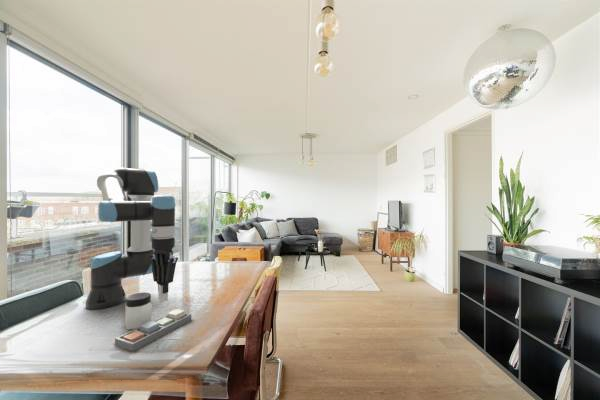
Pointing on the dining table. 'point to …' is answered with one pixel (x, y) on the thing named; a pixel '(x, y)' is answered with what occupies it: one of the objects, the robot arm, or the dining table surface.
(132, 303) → the jar
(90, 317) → the dining table surface
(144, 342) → the grey compartment tray
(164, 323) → the key sage
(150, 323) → the key slate
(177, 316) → the key cream
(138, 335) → the key terracotta
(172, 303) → the dining table surface
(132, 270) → the robot arm
